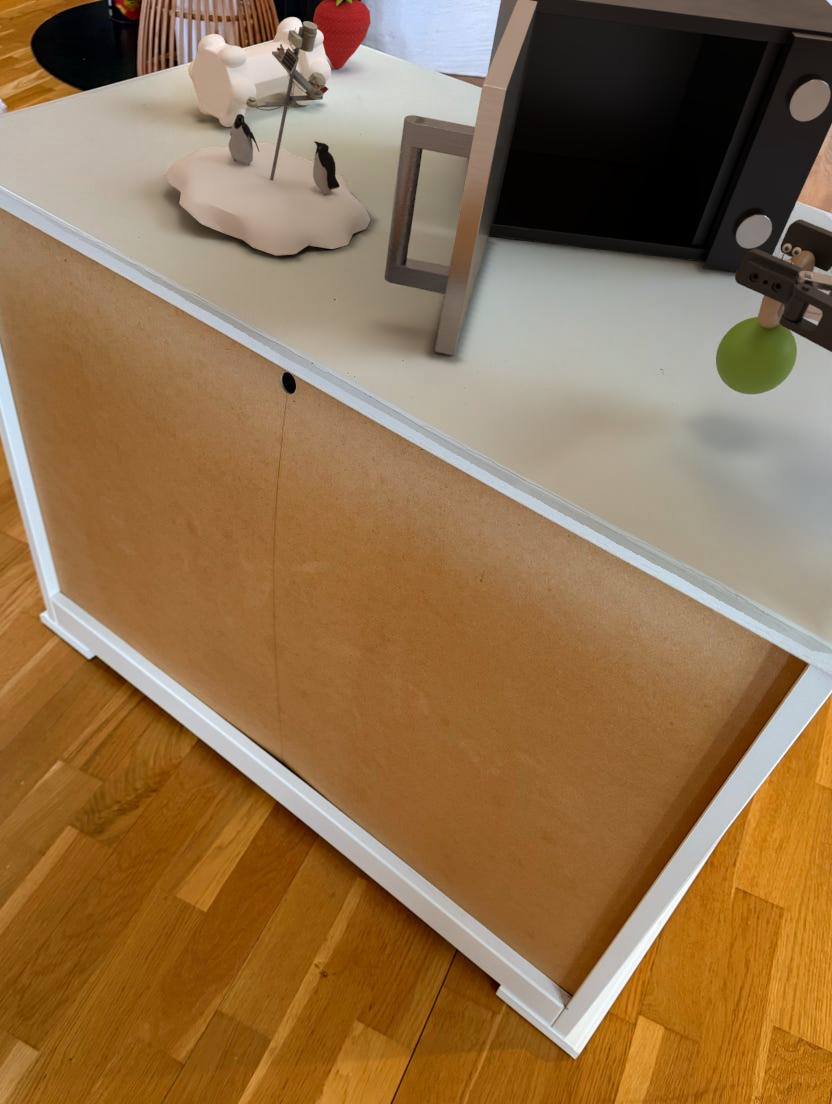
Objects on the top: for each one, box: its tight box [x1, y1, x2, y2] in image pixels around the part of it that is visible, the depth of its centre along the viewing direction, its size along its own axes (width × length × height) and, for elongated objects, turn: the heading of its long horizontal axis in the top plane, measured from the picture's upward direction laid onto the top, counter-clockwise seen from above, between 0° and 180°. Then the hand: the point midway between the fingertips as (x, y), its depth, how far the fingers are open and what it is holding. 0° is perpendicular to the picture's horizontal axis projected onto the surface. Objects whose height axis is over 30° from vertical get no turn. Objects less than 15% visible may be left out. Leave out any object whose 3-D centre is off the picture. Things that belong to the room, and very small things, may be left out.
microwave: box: [487, 0, 832, 272], centre depth 89 cm, size 22×28×20 cm
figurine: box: [163, 20, 371, 256], centre depth 83 cm, size 20×18×16 cm
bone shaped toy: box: [187, 16, 332, 128], centre depth 102 cm, size 15×9×8 cm, turn 137°
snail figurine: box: [715, 243, 815, 395], centre depth 65 cm, size 5×6×12 cm
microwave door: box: [384, 0, 537, 356], centre depth 75 cm, size 7×22×20 cm, turn 167°
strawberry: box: [312, 0, 371, 70], centre depth 113 cm, size 6×8×10 cm
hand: (765, 249), depth 62 cm, fingers closed on snail figurine, 6 cm apart
